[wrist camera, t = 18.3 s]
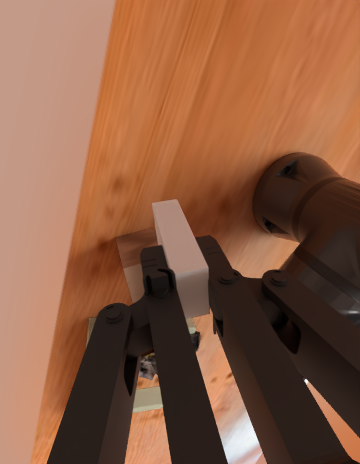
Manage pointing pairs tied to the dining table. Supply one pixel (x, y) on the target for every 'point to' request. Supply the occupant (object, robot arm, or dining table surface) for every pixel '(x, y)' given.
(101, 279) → the dining table surface
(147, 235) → the walnut block
